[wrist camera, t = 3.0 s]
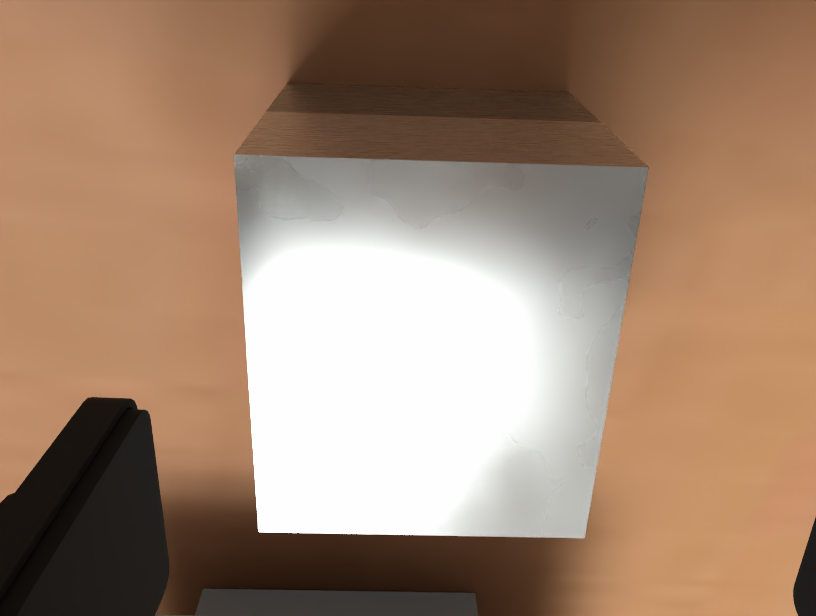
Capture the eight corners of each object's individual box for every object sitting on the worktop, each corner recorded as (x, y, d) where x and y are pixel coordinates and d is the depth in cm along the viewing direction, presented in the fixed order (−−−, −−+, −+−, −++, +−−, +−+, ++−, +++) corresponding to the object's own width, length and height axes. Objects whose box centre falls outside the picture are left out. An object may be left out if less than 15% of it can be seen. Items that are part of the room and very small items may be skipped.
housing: (287, 82, 16) (233, 155, 11) (567, 91, 17) (648, 166, 11) (297, 366, 20) (258, 532, 14) (533, 372, 20) (584, 538, 14)
